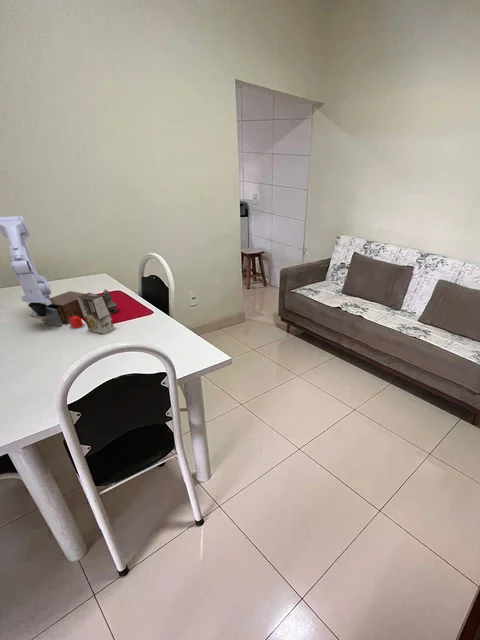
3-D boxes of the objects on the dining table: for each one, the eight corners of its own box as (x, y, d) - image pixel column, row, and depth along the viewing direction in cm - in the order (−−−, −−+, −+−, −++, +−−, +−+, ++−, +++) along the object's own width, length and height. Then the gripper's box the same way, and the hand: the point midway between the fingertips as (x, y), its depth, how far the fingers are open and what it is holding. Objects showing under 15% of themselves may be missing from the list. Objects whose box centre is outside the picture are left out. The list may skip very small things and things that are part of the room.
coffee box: (115, 328, 150) (105, 295, 142) (103, 334, 145) (92, 299, 136) (99, 325, 153) (88, 292, 144) (88, 330, 147) (76, 296, 139)
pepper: (69, 328, 149) (64, 316, 146) (74, 324, 153) (70, 312, 150) (80, 328, 149) (75, 316, 146) (85, 324, 153) (80, 312, 150)
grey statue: (113, 314, 163) (106, 291, 157) (102, 313, 164) (95, 290, 157) (120, 310, 168) (114, 287, 161) (110, 308, 169) (103, 286, 162)
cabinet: (69, 323, 153) (61, 305, 148) (48, 319, 156) (40, 301, 151) (95, 311, 166) (89, 294, 161) (75, 307, 168) (69, 291, 163)
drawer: (50, 329, 146) (44, 314, 142) (31, 325, 148) (24, 310, 144) (86, 313, 161) (81, 299, 157) (68, 309, 164) (62, 295, 160)
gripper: (9, 289, 138) (22, 318, 146) (35, 293, 135) (47, 323, 142) (25, 284, 144) (37, 312, 151) (50, 288, 141) (62, 317, 148)
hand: (43, 317), depth 147 cm, fingers closed, pressing on drawer
